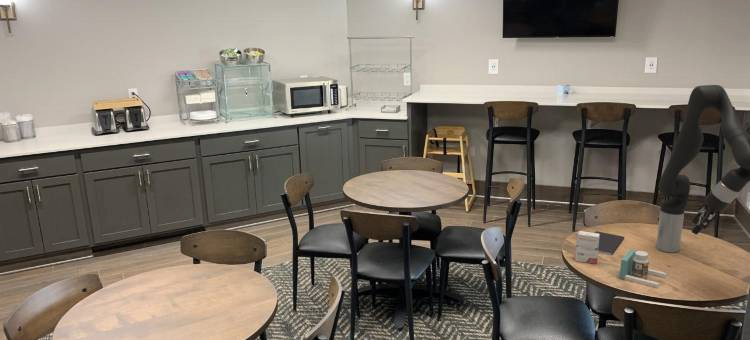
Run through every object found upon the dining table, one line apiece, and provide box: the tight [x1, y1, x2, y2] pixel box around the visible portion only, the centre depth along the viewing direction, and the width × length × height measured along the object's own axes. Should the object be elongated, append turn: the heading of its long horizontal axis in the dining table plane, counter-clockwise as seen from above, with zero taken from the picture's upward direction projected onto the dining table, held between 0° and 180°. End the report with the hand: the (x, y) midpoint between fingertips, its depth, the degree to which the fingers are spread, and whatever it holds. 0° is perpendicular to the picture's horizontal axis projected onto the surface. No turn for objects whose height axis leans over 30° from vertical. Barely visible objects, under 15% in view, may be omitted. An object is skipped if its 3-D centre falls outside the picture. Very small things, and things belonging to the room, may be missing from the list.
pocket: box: [619, 248, 667, 289], centre depth 232 cm, size 14×12×8 cm
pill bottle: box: [631, 250, 650, 280], centre depth 233 cm, size 6×6×10 cm
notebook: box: [593, 230, 625, 256], centre depth 265 cm, size 13×2×21 cm
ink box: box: [574, 230, 600, 265], centre depth 248 cm, size 9×5×12 cm, turn 65°
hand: (694, 227), depth 224 cm, fingers open, 8 cm apart
